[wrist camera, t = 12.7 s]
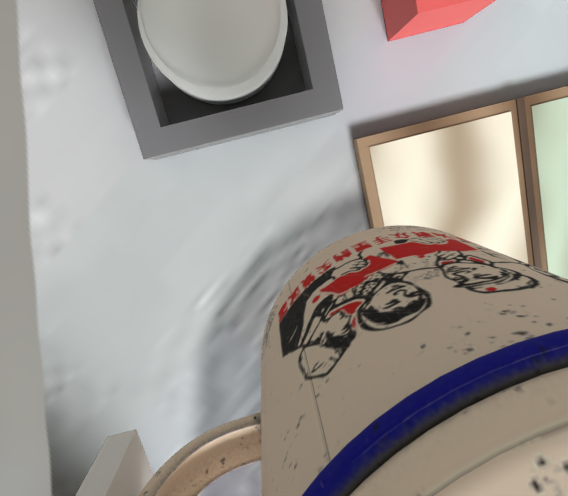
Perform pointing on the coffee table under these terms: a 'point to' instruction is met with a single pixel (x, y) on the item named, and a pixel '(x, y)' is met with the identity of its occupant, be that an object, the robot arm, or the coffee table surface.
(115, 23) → the button bezel
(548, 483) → the teacup with lid
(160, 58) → the dome button
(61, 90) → the coffee table surface
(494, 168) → the wooden picture frame
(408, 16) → the red die
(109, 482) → the robot arm
